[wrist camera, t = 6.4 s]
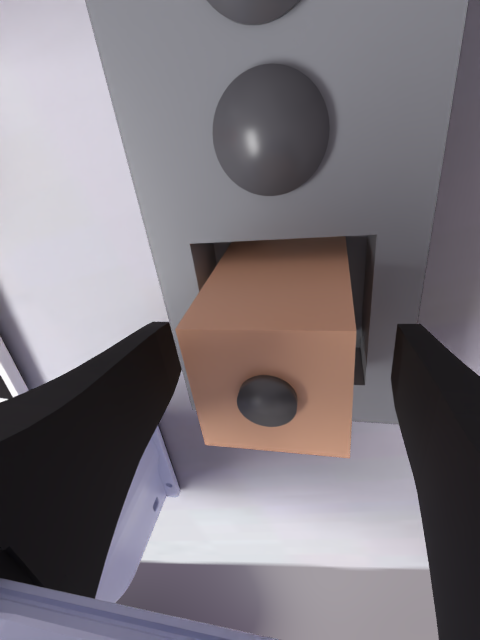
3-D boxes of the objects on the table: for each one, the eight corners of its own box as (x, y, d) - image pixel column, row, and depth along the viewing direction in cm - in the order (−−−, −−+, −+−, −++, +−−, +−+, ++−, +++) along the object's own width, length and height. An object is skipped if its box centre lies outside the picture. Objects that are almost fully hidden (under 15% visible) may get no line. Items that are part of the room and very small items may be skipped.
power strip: (388, 369, 17) (401, 428, 14) (212, 362, 19) (191, 413, 16) (463, -247, 8) (544, -454, 5) (112, -130, 10) (20, -226, 7)
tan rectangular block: (342, 332, 16) (350, 467, 10) (244, 331, 17) (202, 452, 11) (345, 235, 13) (357, 338, 8) (232, 241, 14) (170, 336, 9)
